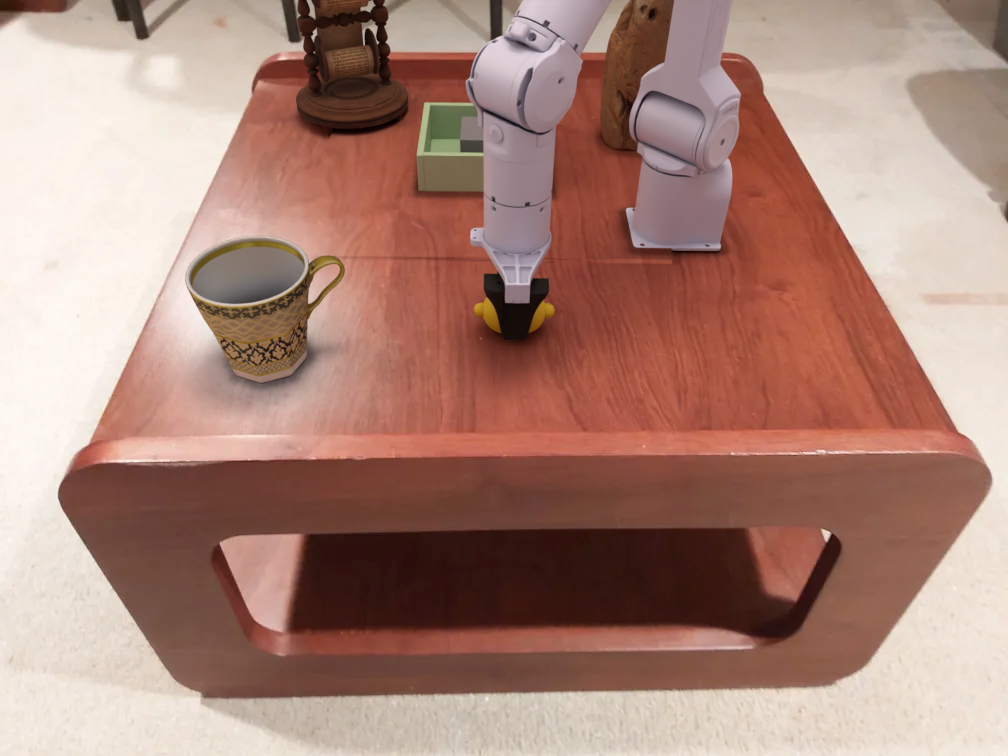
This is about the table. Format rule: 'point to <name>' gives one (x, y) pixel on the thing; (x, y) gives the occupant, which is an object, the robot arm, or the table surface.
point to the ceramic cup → (258, 302)
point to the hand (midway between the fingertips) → (513, 317)
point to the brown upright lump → (631, 64)
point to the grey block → (471, 136)
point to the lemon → (491, 317)
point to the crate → (447, 150)
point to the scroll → (347, 67)
